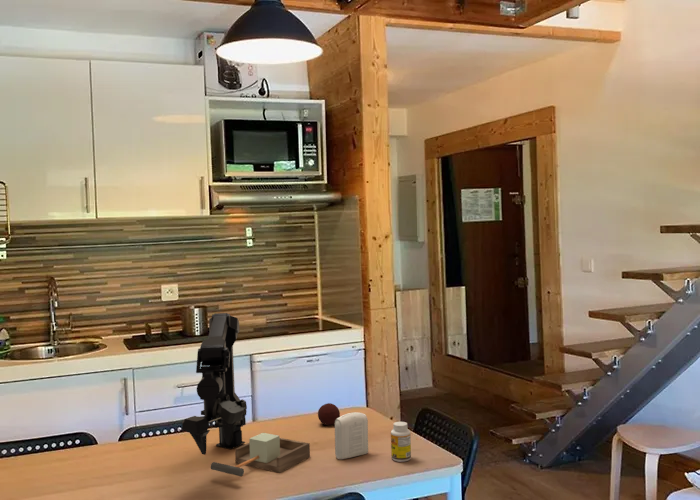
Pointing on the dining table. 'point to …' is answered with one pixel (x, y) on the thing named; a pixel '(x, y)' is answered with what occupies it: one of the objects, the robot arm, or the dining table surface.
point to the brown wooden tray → (288, 457)
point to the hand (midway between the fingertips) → (216, 449)
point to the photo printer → (351, 435)
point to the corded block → (254, 453)
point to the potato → (328, 414)
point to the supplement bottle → (400, 442)
